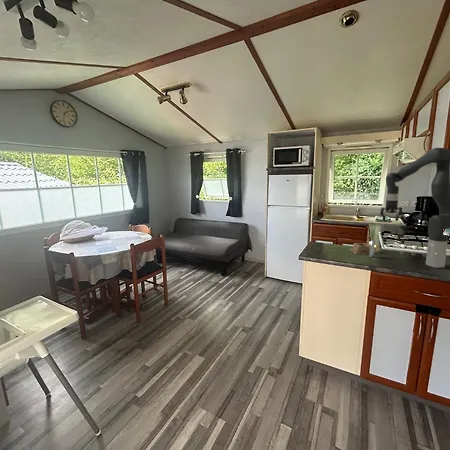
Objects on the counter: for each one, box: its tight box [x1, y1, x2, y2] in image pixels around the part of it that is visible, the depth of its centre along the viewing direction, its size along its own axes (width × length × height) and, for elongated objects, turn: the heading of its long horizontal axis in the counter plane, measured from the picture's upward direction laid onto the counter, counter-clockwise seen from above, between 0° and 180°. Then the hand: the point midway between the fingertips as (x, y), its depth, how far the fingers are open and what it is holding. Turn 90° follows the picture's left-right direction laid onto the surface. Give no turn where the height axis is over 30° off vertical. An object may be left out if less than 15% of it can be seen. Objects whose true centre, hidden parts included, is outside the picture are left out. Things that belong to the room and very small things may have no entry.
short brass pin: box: [374, 243, 380, 254], centre depth 193 cm, size 3×3×6 cm
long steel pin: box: [368, 239, 376, 258], centre depth 183 cm, size 3×3×12 cm
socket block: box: [350, 242, 370, 256], centre depth 195 cm, size 12×12×6 cm
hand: (390, 220), depth 193 cm, fingers open, 8 cm apart
